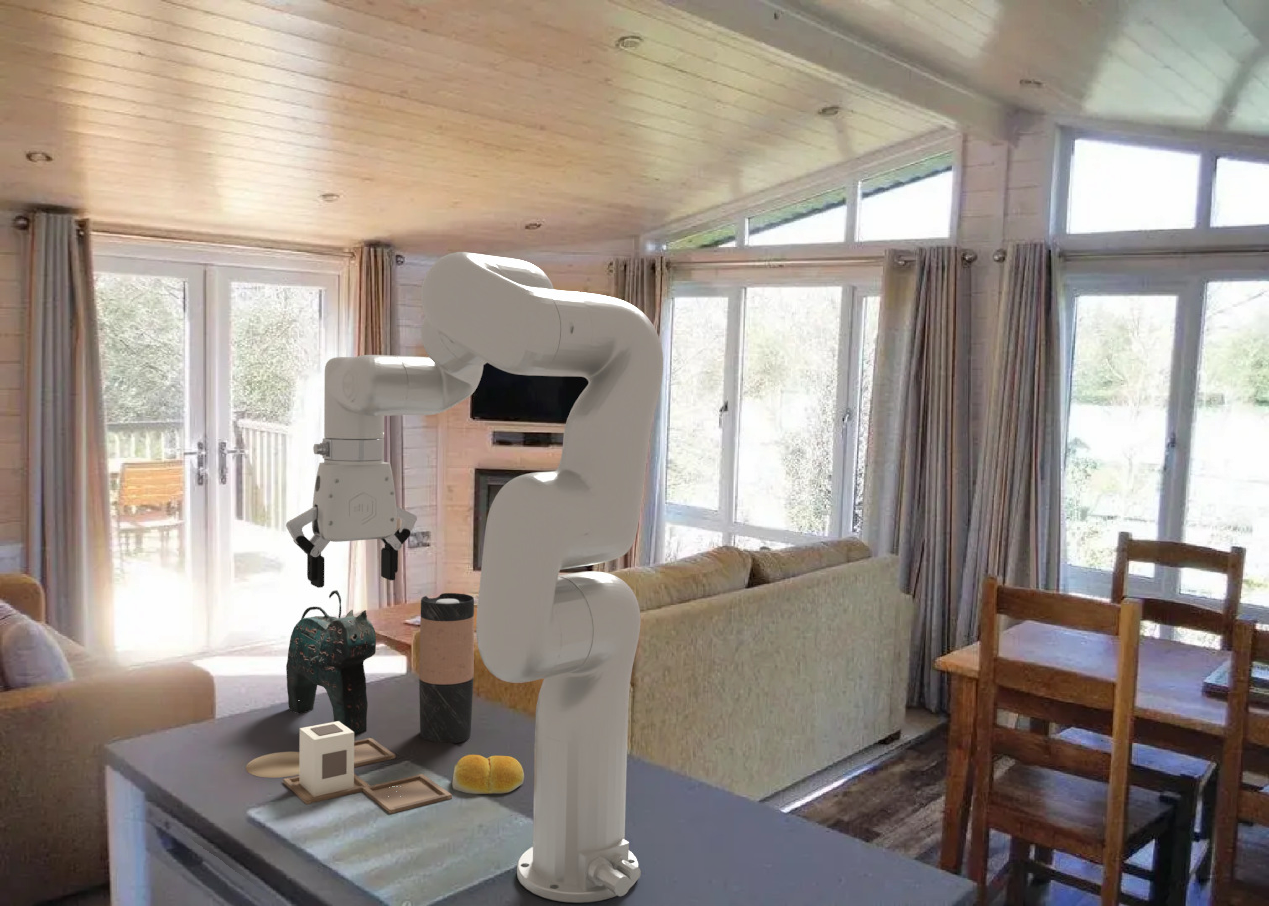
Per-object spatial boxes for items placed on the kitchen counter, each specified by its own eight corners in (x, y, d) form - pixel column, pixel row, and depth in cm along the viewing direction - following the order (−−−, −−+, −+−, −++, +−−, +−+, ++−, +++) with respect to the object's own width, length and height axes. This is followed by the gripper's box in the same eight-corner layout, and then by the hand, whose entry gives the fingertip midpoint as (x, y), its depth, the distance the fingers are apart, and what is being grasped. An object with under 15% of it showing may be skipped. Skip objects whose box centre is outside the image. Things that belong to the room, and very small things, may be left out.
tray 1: (370, 792, 126) (370, 785, 126) (306, 807, 121) (306, 800, 121) (344, 771, 133) (345, 765, 133) (283, 785, 128) (283, 779, 128)
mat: (329, 770, 133) (329, 767, 133) (258, 785, 127) (258, 782, 127) (304, 750, 140) (304, 747, 140) (236, 763, 134) (236, 760, 134)
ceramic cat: (379, 735, 147) (381, 597, 145) (338, 745, 142) (339, 603, 141) (312, 702, 161) (313, 576, 159) (273, 710, 156) (273, 580, 155)
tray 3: (451, 801, 124) (452, 794, 124) (390, 816, 119) (390, 810, 119) (422, 780, 131) (422, 773, 131) (362, 794, 126) (362, 787, 126)
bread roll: (525, 797, 127) (526, 766, 126) (451, 800, 125) (452, 768, 125) (521, 772, 135) (522, 742, 134) (452, 774, 133) (453, 744, 133)
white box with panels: (354, 788, 126) (354, 731, 126) (314, 797, 123) (314, 739, 123) (338, 775, 130) (338, 720, 130) (299, 783, 127) (299, 727, 127)
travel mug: (467, 746, 143) (469, 604, 142) (412, 744, 143) (414, 603, 142) (476, 728, 151) (479, 593, 149) (425, 726, 151) (426, 592, 150)
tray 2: (395, 760, 137) (395, 755, 137) (337, 773, 132) (337, 767, 132) (370, 743, 143) (371, 737, 143) (314, 754, 138) (314, 748, 138)
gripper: (297, 455, 125) (297, 594, 126) (428, 452, 136) (426, 580, 137) (278, 451, 131) (277, 583, 132) (404, 449, 142) (402, 571, 143)
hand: (353, 582), depth 135 cm, fingers open, 9 cm apart
